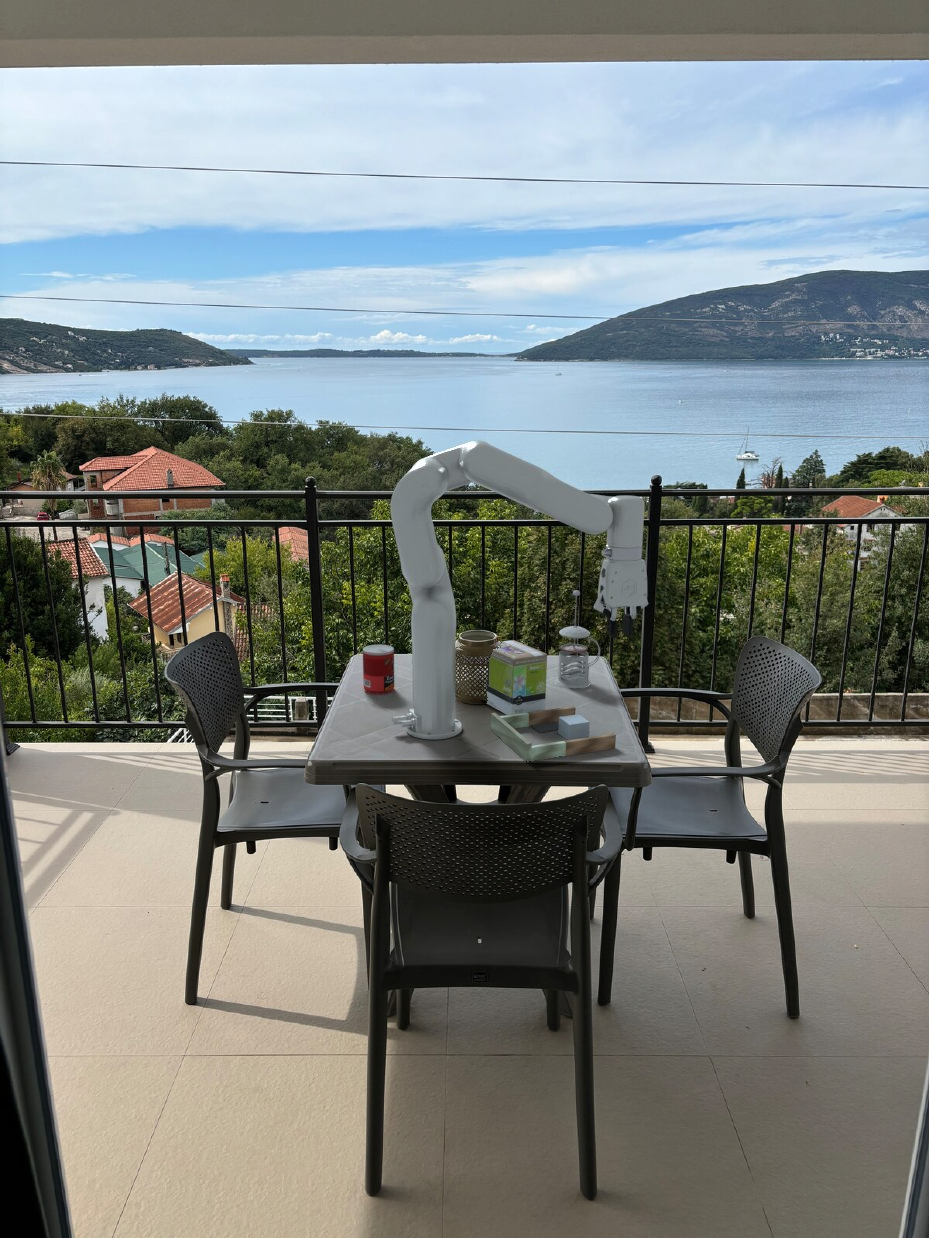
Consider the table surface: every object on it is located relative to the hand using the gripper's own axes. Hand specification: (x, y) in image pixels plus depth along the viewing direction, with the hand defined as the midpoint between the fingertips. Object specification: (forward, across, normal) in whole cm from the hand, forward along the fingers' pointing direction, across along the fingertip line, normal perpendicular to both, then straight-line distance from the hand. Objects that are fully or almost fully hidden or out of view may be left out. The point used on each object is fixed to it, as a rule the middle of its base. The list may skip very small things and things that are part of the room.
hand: (619, 635), depth 192 cm
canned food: (+22, -42, +45) cm, 66 cm away
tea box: (+23, -16, +22) cm, 35 cm away
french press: (+22, +8, +32) cm, 40 cm away
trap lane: (+22, -16, 0) cm, 27 cm away
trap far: (+22, -14, +6) cm, 27 cm away
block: (+22, -10, 0) cm, 25 cm away
